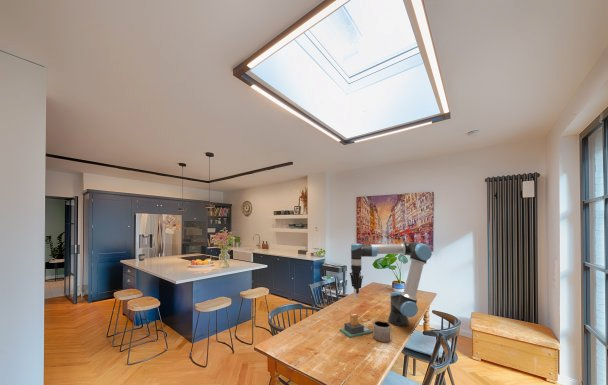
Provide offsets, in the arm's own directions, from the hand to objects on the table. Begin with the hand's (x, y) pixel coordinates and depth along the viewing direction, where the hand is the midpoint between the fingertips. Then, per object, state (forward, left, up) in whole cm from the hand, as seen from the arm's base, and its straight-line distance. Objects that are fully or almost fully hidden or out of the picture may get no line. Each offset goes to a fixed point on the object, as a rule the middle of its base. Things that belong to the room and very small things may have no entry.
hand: (356, 297), depth 187 cm
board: (+2, +3, -22) cm, 23 cm away
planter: (-8, +18, -23) cm, 30 cm away
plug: (+4, +3, -20) cm, 21 cm away
